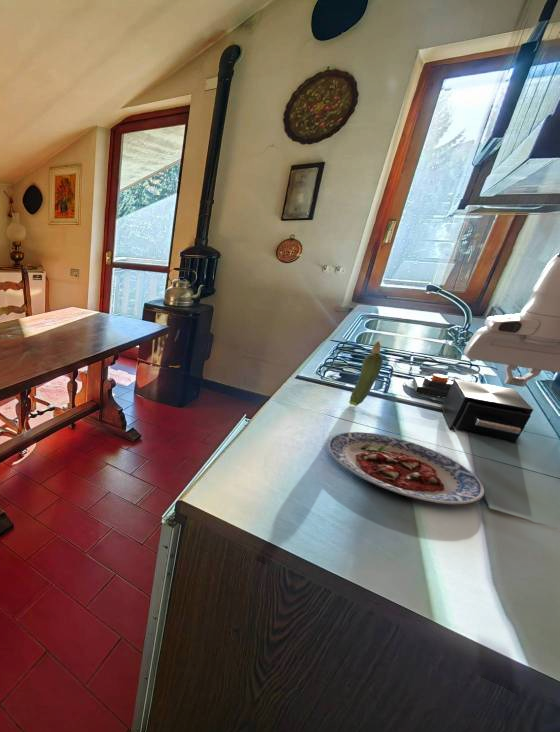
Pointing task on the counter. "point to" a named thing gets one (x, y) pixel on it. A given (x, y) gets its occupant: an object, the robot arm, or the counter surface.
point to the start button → (440, 378)
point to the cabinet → (479, 399)
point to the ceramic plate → (406, 468)
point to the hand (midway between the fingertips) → (513, 384)
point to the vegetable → (367, 375)
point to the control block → (431, 386)
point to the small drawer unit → (492, 421)
